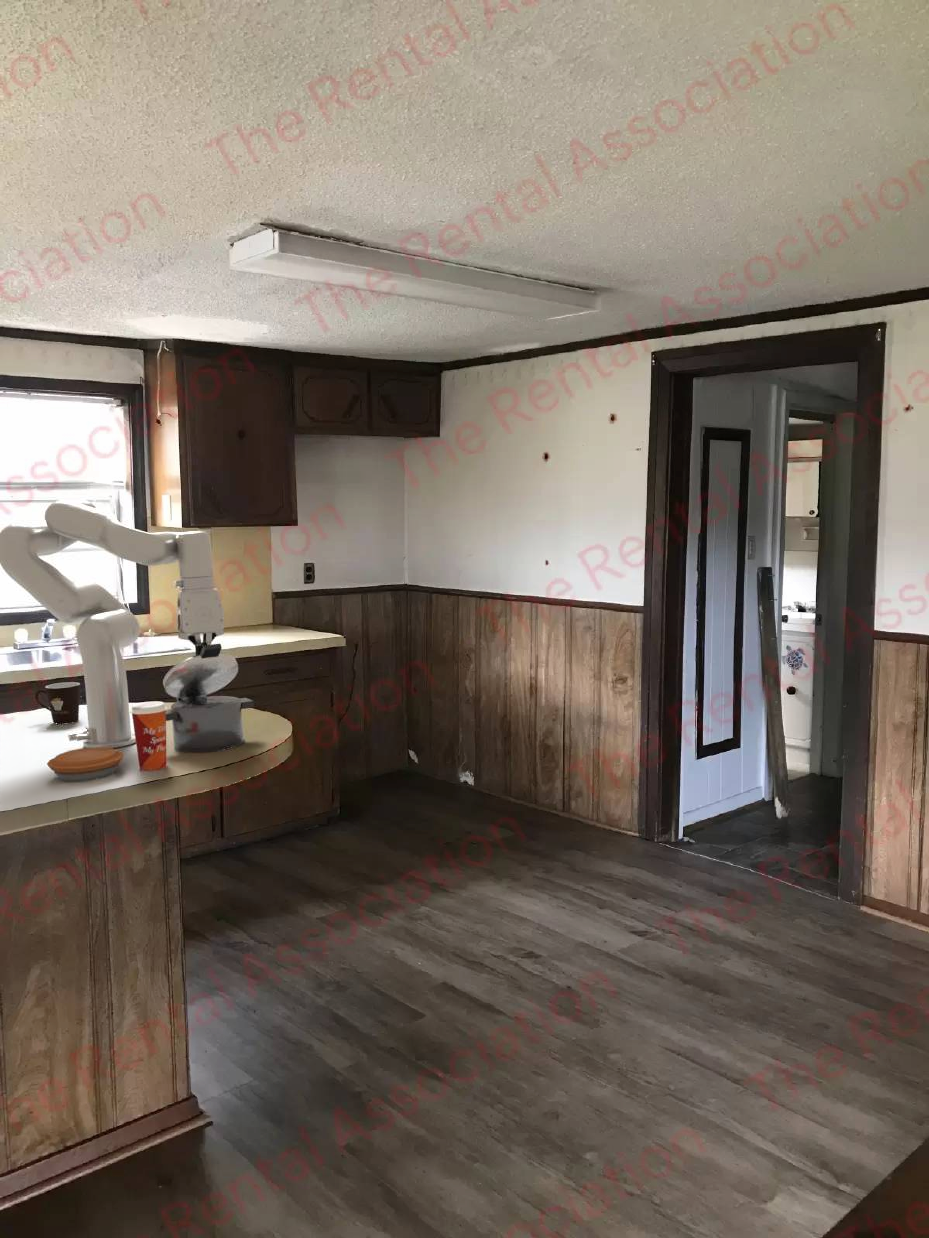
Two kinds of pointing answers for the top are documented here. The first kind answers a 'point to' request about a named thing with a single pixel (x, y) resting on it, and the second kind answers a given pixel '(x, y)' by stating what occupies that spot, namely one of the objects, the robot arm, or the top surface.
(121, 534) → the robot arm
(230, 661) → the cooker lid
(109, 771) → the pie
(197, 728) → the cooker pot
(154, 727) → the paper cup
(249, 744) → the top surface
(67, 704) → the coffee mug
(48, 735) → the top surface
